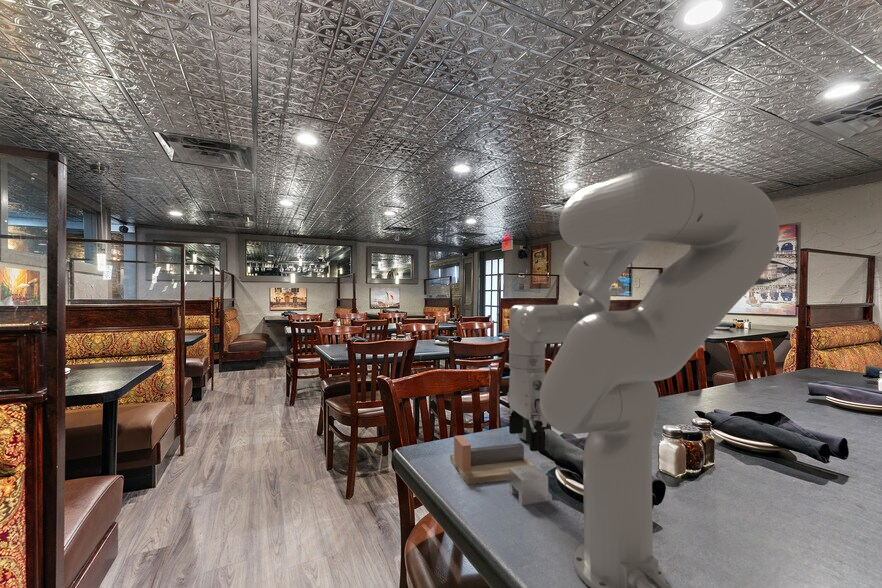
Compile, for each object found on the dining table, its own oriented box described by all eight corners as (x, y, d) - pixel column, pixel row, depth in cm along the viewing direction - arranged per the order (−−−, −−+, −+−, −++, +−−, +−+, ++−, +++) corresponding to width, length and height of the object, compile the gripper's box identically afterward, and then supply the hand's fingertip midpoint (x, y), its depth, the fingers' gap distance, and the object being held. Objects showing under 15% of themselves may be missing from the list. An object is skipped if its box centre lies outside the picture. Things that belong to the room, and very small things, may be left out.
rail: (523, 460, 97) (523, 446, 97) (467, 466, 94) (467, 451, 94) (520, 457, 99) (520, 443, 99) (464, 463, 96) (464, 448, 96)
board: (539, 475, 92) (539, 469, 92) (467, 484, 87) (467, 478, 87) (513, 453, 105) (513, 448, 105) (450, 460, 101) (450, 454, 101)
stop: (470, 470, 91) (470, 445, 91) (462, 471, 91) (462, 445, 91) (461, 459, 98) (461, 435, 98) (454, 460, 97) (454, 436, 98)
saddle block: (548, 501, 80) (548, 476, 80) (521, 505, 79) (521, 480, 79) (534, 487, 86) (534, 465, 86) (509, 491, 84) (509, 468, 85)
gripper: (564, 369, 76) (563, 456, 76) (524, 354, 92) (523, 426, 93) (529, 370, 74) (529, 460, 74) (495, 356, 91) (494, 428, 91)
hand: (526, 441), depth 83 cm, fingers open, 9 cm apart
